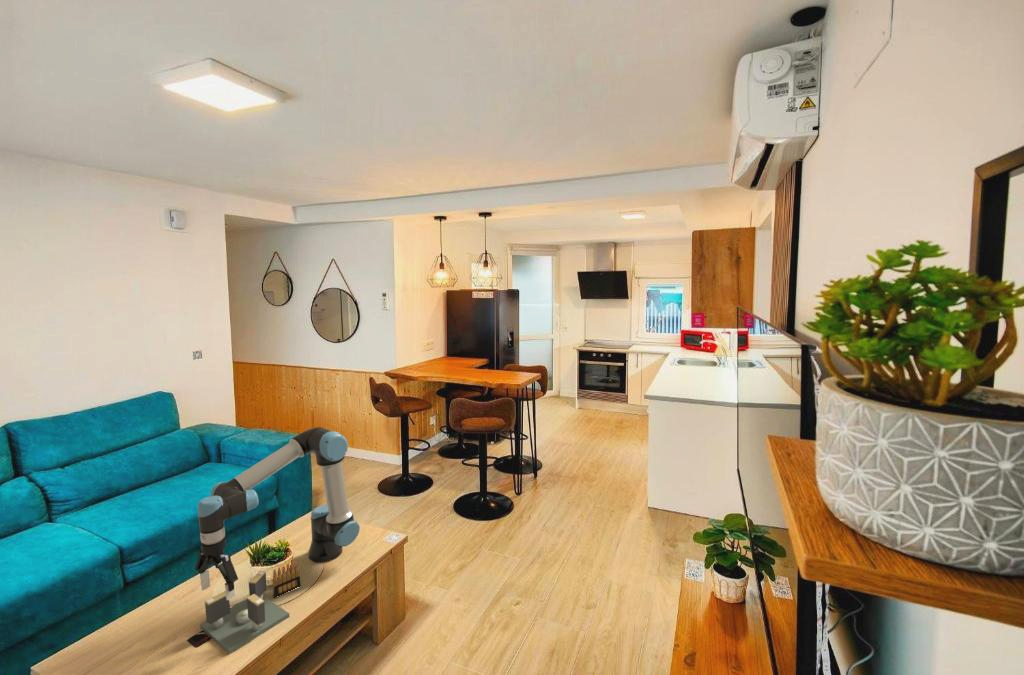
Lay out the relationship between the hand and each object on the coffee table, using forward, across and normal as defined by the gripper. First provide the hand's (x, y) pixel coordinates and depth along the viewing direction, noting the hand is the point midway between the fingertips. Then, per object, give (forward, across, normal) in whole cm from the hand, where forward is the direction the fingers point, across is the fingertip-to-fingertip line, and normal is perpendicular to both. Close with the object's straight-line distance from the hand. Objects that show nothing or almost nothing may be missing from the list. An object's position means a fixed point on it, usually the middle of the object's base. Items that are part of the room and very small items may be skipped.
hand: (218, 593), depth 171 cm
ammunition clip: (+15, +5, +25) cm, 30 cm away
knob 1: (+13, 0, -1) cm, 13 cm away
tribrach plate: (+15, +5, +6) cm, 17 cm away
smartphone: (+15, -2, -2) cm, 15 cm away
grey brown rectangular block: (+13, +2, +14) cm, 19 cm away
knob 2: (+13, +14, +4) cm, 19 cm away
